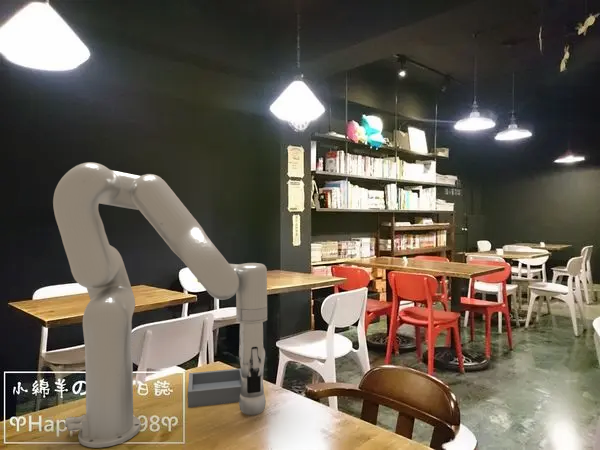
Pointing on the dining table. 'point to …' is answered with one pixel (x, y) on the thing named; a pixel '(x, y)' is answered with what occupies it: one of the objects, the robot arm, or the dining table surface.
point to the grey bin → (214, 387)
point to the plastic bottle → (251, 401)
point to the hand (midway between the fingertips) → (252, 386)
